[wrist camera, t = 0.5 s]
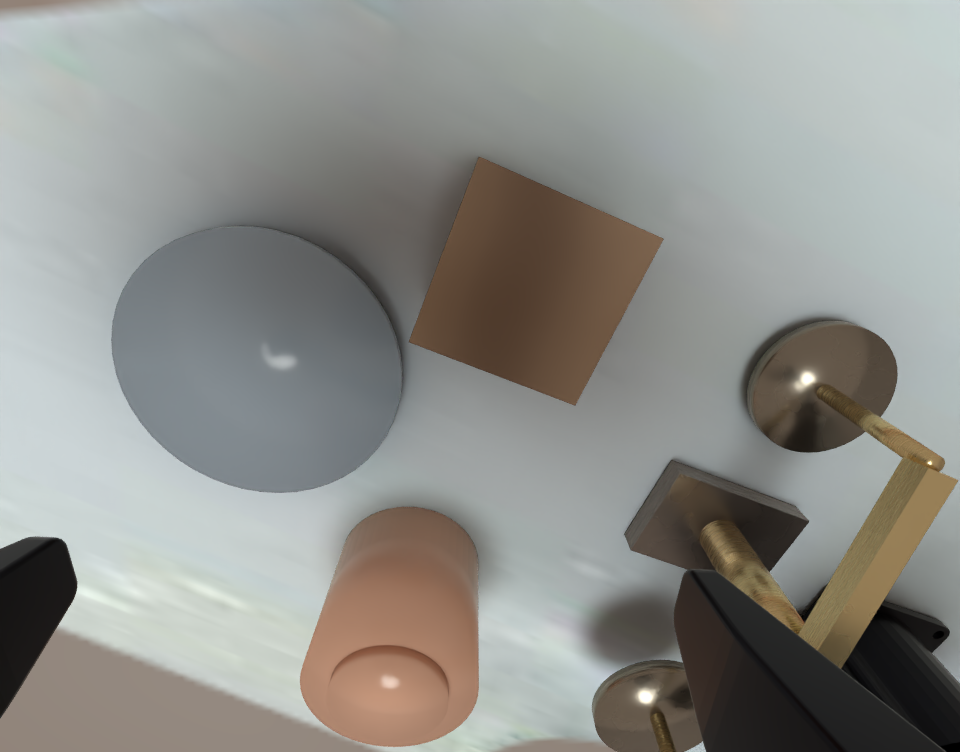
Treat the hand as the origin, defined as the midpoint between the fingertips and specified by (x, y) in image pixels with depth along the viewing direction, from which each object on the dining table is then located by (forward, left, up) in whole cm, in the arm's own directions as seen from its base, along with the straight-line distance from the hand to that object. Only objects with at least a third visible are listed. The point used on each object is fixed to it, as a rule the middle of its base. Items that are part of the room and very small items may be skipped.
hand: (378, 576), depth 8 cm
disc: (+5, +4, -12) cm, 14 cm away
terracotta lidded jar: (-3, +11, -13) cm, 17 cm away
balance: (-14, +4, -12) cm, 19 cm away
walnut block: (-2, -3, -13) cm, 13 cm away
